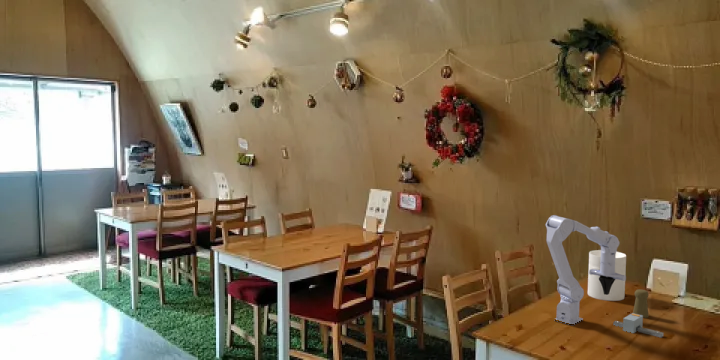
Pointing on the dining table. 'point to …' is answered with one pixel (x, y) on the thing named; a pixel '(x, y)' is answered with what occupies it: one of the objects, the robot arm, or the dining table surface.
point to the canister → (593, 280)
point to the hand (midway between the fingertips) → (606, 294)
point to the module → (632, 322)
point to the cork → (641, 303)
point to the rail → (641, 329)
